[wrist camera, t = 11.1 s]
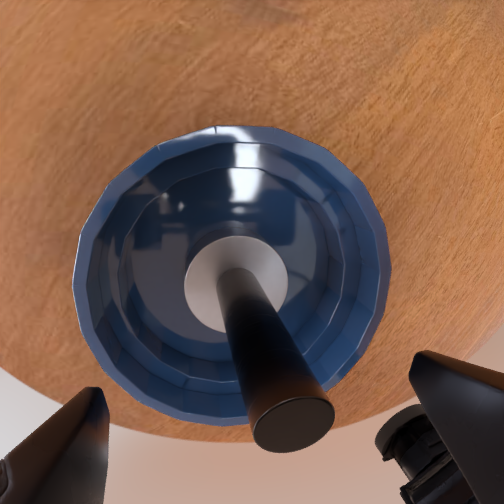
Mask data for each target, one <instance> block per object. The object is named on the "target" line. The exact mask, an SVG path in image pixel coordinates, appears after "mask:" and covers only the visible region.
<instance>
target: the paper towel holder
mask: <svg viewBox="0 0 504 504" xmlns="http://www.w3.org/2000/svg"><path fill="white" fill-rule="evenodd" d="M287 289H288V274H287V270H286V266H285V264H284V262H283V260H282V258H281V257H280V255H279V254H278V253H277V251H276V250H275V249H274V248H273V247H272V246H271V245H270V244H269V243H268V242H267V241H266V240H265V239H264V238H262V237H261V236H260V235H258V234H257V233H255V232H253V231H251V230H248V229H244V228H239V227H228V228H222V229H218V230H215V231H213V232H211V233H209V234H207V235H206V236H204V237H203V238H201V239H200V240H199V241H198V242H197V243H196V244H195V246H194V247H193V248H192V250H191V251H190V253H189V255H188V257H187V260H186V264H185V269H184V294H185V298H186V302H187V304H188V307H189V309H190V310H191V312H192V313H193V315H194V316H195V317H196V318H197V319H198V320H199V321H200V322H201V323H203V324H204V325H206V326H207V327H209V328H211V329H213V330H216V331H219V332H223V333H226V335H227V339H228V343H229V347H230V351H231V355H232V359H233V363H234V367H235V371H236V375H237V379H238V383H239V386H240V390H241V394H242V398H243V402H244V405H245V409H246V413H247V416H248V420H249V424H250V427H251V431H252V435H253V438H254V440H255V442H256V443H257V445H258V446H260V447H261V448H262V449H264V450H267V451H270V452H274V453H289V452H294V451H298V450H301V449H304V448H306V447H308V446H310V445H312V444H314V443H316V442H317V441H318V440H320V439H321V438H322V437H323V436H324V435H325V434H326V433H327V432H328V431H329V430H330V428H331V427H332V425H333V422H334V419H335V410H334V407H333V405H332V403H331V401H330V400H329V398H328V397H327V395H326V393H325V392H324V390H323V388H322V387H321V385H320V383H319V382H318V380H317V378H316V377H315V375H314V373H313V372H312V370H311V368H310V367H309V365H308V363H307V362H306V360H305V359H304V357H303V355H302V354H301V352H300V350H299V349H298V347H297V345H296V344H295V342H294V340H293V339H292V337H291V335H290V334H289V332H288V330H287V329H286V327H285V325H284V324H283V322H282V320H281V319H280V317H279V315H278V314H277V312H278V311H279V309H280V308H281V306H282V304H283V302H284V300H285V297H286V294H287Z"/></svg>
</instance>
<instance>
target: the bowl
mask: <svg viewBox="0 0 504 504" xmlns="http://www.w3.org/2000/svg"><path fill="white" fill-rule="evenodd" d="M228 227H239V228H244V229H248V230H251V231H253V232H255V233H257V234H258V235H260V236H261V237H262V238H264V239H265V240H266V241H267V242H268V243H269V244H270V245H271V246H272V247H273V248H274V249H275V250H276V251H277V253H278V254H279V255H280V257H281V258H282V260H283V262H284V264H285V266H286V270H287V274H288V289H287V294H286V297H285V300H284V302H283V304H282V306H281V308H280V309H279V311H278V312H277V314H278V315H279V317H280V319H281V320H282V322H283V324H284V325H285V327H286V329H287V330H288V332H289V334H290V335H291V337H292V339H293V340H294V342H295V344H296V345H297V347H298V349H299V350H300V352H301V354H302V355H303V357H304V359H305V360H306V362H307V363H308V365H309V367H310V368H311V370H312V372H313V373H314V375H315V377H316V378H317V380H318V382H319V383H320V385H321V387H322V388H323V390H324V392H326V391H328V390H329V389H331V388H332V387H334V386H335V385H336V384H337V383H339V382H340V381H341V380H342V378H343V377H344V376H345V375H346V374H347V373H348V372H349V371H350V369H351V368H352V367H353V366H354V365H355V364H356V363H357V361H358V360H359V359H360V358H361V357H362V356H363V354H364V353H365V351H366V350H367V348H368V346H369V344H370V342H371V340H372V338H373V336H374V334H375V332H376V330H377V328H378V326H379V324H380V322H381V319H382V317H383V315H384V312H385V307H386V301H387V296H388V290H389V284H390V278H391V270H392V268H391V260H390V253H389V245H388V238H387V232H386V227H385V224H384V222H383V220H382V218H381V216H380V214H379V212H378V210H377V208H376V206H375V204H374V202H373V200H372V198H371V196H370V194H369V192H368V191H367V189H366V187H365V185H364V184H363V182H362V181H361V180H360V179H359V178H358V177H357V176H356V175H354V174H353V173H352V172H351V171H350V170H349V169H348V168H347V167H346V166H345V165H344V164H343V163H342V162H341V161H340V160H338V159H337V158H336V157H335V156H334V155H333V154H332V153H331V152H330V151H329V150H327V149H326V148H324V147H322V146H319V145H317V144H315V143H313V142H310V141H308V140H306V139H303V138H301V137H298V136H296V135H293V134H291V133H289V132H286V131H283V130H281V129H278V128H274V127H263V126H240V125H216V126H210V127H207V128H204V129H200V130H197V131H194V132H191V133H188V134H185V135H182V136H179V137H176V138H173V139H170V140H167V141H164V142H162V143H159V144H158V145H155V146H154V147H152V148H151V149H150V150H148V151H147V152H146V153H145V154H143V155H142V156H141V157H139V158H138V159H137V160H136V161H134V162H133V163H132V164H131V165H129V166H128V167H127V168H126V169H125V170H123V171H122V172H121V173H120V174H119V175H117V176H116V177H115V178H114V179H113V180H111V181H110V183H109V184H108V185H107V187H106V188H105V190H104V192H103V193H102V195H101V197H100V198H99V200H98V202H97V203H96V205H95V207H94V208H93V210H92V212H91V214H90V215H89V217H88V219H87V221H86V222H85V224H84V226H83V228H82V230H81V233H80V237H79V242H78V248H77V254H76V260H75V266H74V273H73V280H72V289H73V295H74V300H75V305H76V311H77V315H78V320H79V325H80V329H81V332H82V335H83V337H84V339H85V340H86V342H87V344H88V346H89V347H90V349H91V351H92V353H93V354H94V356H95V358H96V359H97V361H98V363H99V364H100V366H101V367H102V369H103V371H104V372H106V374H107V375H108V376H109V377H110V378H112V379H113V380H114V381H115V382H116V383H117V384H118V385H119V386H121V387H122V388H123V389H124V390H125V391H126V392H127V393H129V394H130V395H131V396H132V397H133V398H135V399H136V400H137V401H139V402H140V403H142V404H144V405H146V406H148V407H150V408H152V409H155V410H157V411H159V412H161V413H163V414H166V415H168V416H170V417H173V418H175V419H179V420H182V421H187V422H193V423H200V424H206V425H213V426H221V427H222V426H234V425H244V424H249V420H248V416H247V413H246V409H245V405H244V402H243V398H242V394H241V390H240V386H239V383H238V379H237V375H236V371H235V367H234V363H233V359H232V355H231V351H230V347H229V343H228V339H227V335H226V333H223V332H219V331H216V330H213V329H211V328H209V327H207V326H206V325H204V324H203V323H201V322H200V321H199V320H198V319H197V318H196V317H195V316H194V315H193V313H192V312H191V310H190V309H189V307H188V304H187V302H186V298H185V294H184V269H185V264H186V260H187V257H188V255H189V253H190V251H191V250H192V248H193V247H194V246H195V244H196V243H197V242H198V241H199V240H200V239H201V238H203V237H204V236H206V235H207V234H209V233H211V232H213V231H215V230H218V229H222V228H228Z"/></svg>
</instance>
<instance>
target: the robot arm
mask: <svg viewBox="0 0 504 504" xmlns="http://www.w3.org/2000/svg"><path fill="white" fill-rule="evenodd" d="M409 381H410V383H411V385H412V387H413V389H414V391H415V393H416V395H417V397H418V399H419V401H420V403H421V405H422V407H423V409H424V411H425V413H426V414H427V416H426V417H423V418H421V419H418V420H415V421H413V422H410V423H407V424H405V425H402V426H399V427H398V428H396V430H395V432H394V434H393V436H392V439H391V441H390V443H389V445H388V447H387V449H386V452H385V454H384V456H383V458H382V460H383V461H384V462H385V461H389V460H391V459H395V460H396V462H397V463H398V465H399V466H400V468H401V469H402V471H403V472H404V473H405V475H406V476H407V478H408V479H409V481H410V482H408V483H407V484H406V485H403V486H402V487H400V490H401V492H400V495H401V497H402V498H403V500H404V501H405V503H406V504H504V373H501V372H497V371H494V370H491V369H487V368H484V367H480V366H477V365H474V364H470V363H467V362H464V361H461V360H458V359H455V358H451V357H448V356H445V355H442V354H439V353H436V352H432V351H429V350H424V351H420V352H417V353H416V354H415V356H414V358H413V362H412V365H411V368H410V371H409ZM109 423H110V414H109V409H108V406H107V403H106V400H105V397H104V394H103V391H102V389H101V388H99V387H85V388H84V389H83V390H81V391H80V392H79V393H78V394H77V395H76V396H74V397H73V398H72V399H71V400H70V401H69V402H67V403H66V404H65V405H64V406H63V407H62V408H61V409H59V410H58V411H57V412H56V413H55V414H53V415H52V416H51V417H50V418H49V419H48V420H46V421H45V422H44V423H43V424H42V425H41V426H39V427H38V428H37V429H36V430H35V431H34V432H33V433H31V434H30V435H29V436H28V437H27V438H26V439H24V440H23V441H22V442H21V443H20V444H19V445H18V446H16V447H15V448H14V449H13V450H12V451H11V452H9V453H8V454H7V455H6V456H5V457H4V459H1V460H0V504H103V501H104V492H105V483H106V477H107V468H108V444H109V443H108V442H109Z"/></svg>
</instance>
